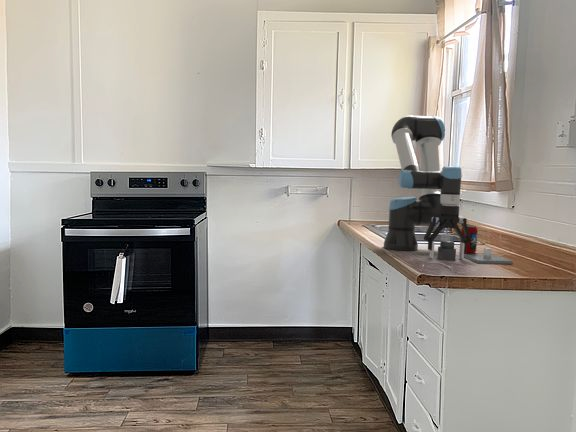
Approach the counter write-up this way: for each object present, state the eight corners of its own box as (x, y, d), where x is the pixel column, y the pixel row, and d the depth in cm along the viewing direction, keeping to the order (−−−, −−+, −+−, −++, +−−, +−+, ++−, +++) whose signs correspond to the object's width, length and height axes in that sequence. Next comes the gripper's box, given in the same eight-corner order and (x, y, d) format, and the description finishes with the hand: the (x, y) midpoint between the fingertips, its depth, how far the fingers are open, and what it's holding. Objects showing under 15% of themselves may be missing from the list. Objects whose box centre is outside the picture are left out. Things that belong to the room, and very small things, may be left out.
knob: (437, 257, 207) (438, 240, 206) (450, 257, 207) (451, 240, 206) (442, 259, 201) (443, 241, 201) (455, 260, 202) (456, 242, 201)
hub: (463, 257, 210) (463, 245, 209) (495, 257, 210) (496, 245, 210) (477, 263, 196) (478, 250, 195) (512, 264, 196) (513, 251, 196)
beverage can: (476, 254, 218) (478, 226, 217) (459, 253, 220) (461, 225, 219) (475, 252, 224) (477, 225, 223) (459, 250, 226) (461, 224, 225)
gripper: (423, 204, 198) (420, 259, 200) (482, 206, 199) (479, 260, 201) (417, 203, 205) (414, 256, 207) (474, 205, 207) (471, 257, 209)
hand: (446, 258), depth 204 cm, fingers open, 12 cm apart
